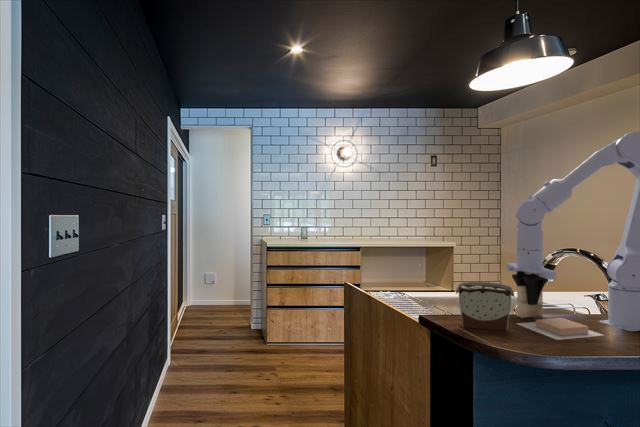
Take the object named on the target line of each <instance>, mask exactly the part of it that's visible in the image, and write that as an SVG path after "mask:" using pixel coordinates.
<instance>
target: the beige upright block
mask: <svg viewBox="0 0 640 427" xmlns="http://www.w3.org/2000/svg"><path fill="white" fill-rule="evenodd" d="M516 289H517V290H516V296H517V297H516V298H517V299H516V300H517V301H516V304H517V305H516V313H517V314H516V316H517V317H519V318H533V317H534V318H535V317H544V316H543V315H544V313H543V311H544V310H543V309H544V308H543V301H544V300H543V297H544V296H543V289H544V288H543V289H542V291H541V293H540V296H539V300H538V303H537V305H528V300H527V289H526V286H517V285H516Z"/></svg>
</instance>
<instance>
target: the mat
mask: <svg viewBox="0 0 640 427" xmlns="http://www.w3.org/2000/svg"><path fill="white" fill-rule="evenodd" d="M516 325H518V326H520V327H523V328H526V329H527V330H531V331H533V332H536V333H539V334H541V335H544V336H546V337H549V338H551V339H552V340H553V339H554V340H556V341H560V340H569V339H570V340H572V339H581V338H592V337H602V336H606V335H605V334H602V333H600V332H597V331H593V330H590V329H588V334H581V335H570V336H559V335H556V334H553V333H551V332H548V331H545V330H543V329H540V328H538V327H536V321H532V322H531V321H530V322H529V321H528V322H519V323H516Z"/></svg>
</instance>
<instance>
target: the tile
mask: <svg viewBox="0 0 640 427" xmlns="http://www.w3.org/2000/svg"><path fill="white" fill-rule="evenodd" d="M535 322H536V327H538V328H540V329H543V330H545V331H548V332H551V333H553V334H556V335H559V336H570V335H581V334H588V330H589V326H588V325H586V324H582V323H579V322H576V321H572V320H569V319H567V318H564V317H556V318H555V317H554V318H543V319H542V318H541V319H535Z"/></svg>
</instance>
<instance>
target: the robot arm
mask: <svg viewBox="0 0 640 427" xmlns="http://www.w3.org/2000/svg"><path fill="white" fill-rule="evenodd" d="M615 164H617V165H620V166H622V167H624V168H626V169H627V170H628V171H629V172H630V173H631V174H632V175H633V176H634V177H635V178H636V181H635V185H634V189H633V193H632V197H631V201H630V205H629V209H628V214H627V217H626V221H625V225H624V229H623V233H622V237H621V241H620V244H619V246H618V247H617V249H616V250H615V251H614V252H615V253H614V256H613V257H612V259H611V260H610V261H609V262H608V263H607V265H606V273H607V275H608V278H610V279H611V281H610V282H609V283H608V285H607V286H608V287H607V291H608V293H607V294H608V296H607V297H608V298H607V299H608V303H607V305H608V307H607V308H608V309H607V311H608V312H607V313H608V315H607V316H608V319H605V320H604V319H603V320H599V321H598V322H599V323H602V324H605V325H609V326H611V327H615V328H619V329H621V330H626V331H628V332H638V331H640V131H637V130H636V131H630V132H628V133H626V134H624V135H623V136H622V137H621V138H617V139H615V140H614V141H612V143H610V144H607V145H606V146H604V147H603V148H601V149H599V150H597V151H595V152H594V153H593V154H591V155H590V156H589V157H588V158H587V159H585V160H584V161H583V162H582V163H581V164H580V165H578V166H577V167H576V168H575V169H573V170H572V171H571V172H569V174H567V175H566V176H565V177H563V178H562V179H561V178H560V179H559V178H556V179H555V178H553V179H552V180H550V181H549V180H547V181H545V182H544V183H543V184H542V185H543V186H542V188H540V189H539V190H538V191H536V192H535V193H534V194H533V195H531V194H530V195H529V196H528V195H527V200H526V201H524V202H522V203H521V204H520V205H519V206H518V207H517V209H516V212H515V217H516V218H517V220H518V221H517V230H516V263H515V262H508V263H506V271H508V272H516V273H515V274H512V275H511V277H512V280H514V282H515V284H516V287H517V286H526V289H527V300H528V305H537V303H538V300H539V296H540V293H541V291H542V289H544V287H545V285H546V284H547V283H548V281H549V280H556V279H557V272H556V270H553V269H549V268H546V267H543V266H544V265H543V262H544V261H543V260H544V259H543V254H544V253H543V248H544V246H543V243H544V241H543V240H544V238H543V230H542V227H543V226H542V225H543V223H542V222H543V220H544V218H545V214H550V213H551V212H553V211H554V210H556V209H557V208H558V207H560V206H561V205H562V204H564V203H565V202H566V201H567V200H569V199H570V198H571V197H572V195H573V194H572V193H573V189H574V188H575V187H576V186H577V185H579V184H580V183H582V182H584V181H585V180H586V179H588V178H589V177H591V176H592V175H593V174H594V173H596V172H597V171H599V170H600V169H601V168H604V167H608V166H612V165H615Z"/></svg>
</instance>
